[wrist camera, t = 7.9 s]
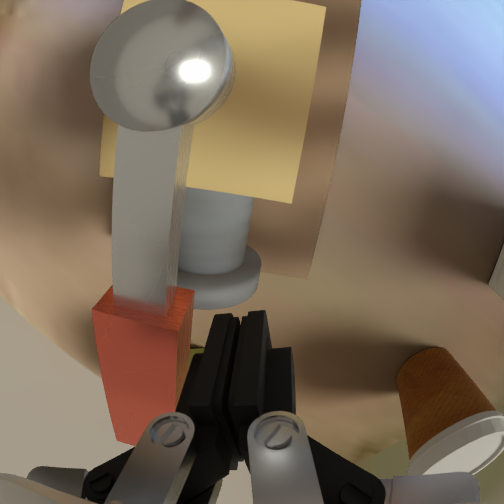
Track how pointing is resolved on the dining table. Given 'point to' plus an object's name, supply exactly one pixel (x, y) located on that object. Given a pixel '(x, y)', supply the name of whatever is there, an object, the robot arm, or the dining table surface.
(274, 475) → the robot arm
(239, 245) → the valve stand
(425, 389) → the disposable coffee cup
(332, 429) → the dining table surface
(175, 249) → the lever
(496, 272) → the supplement box
